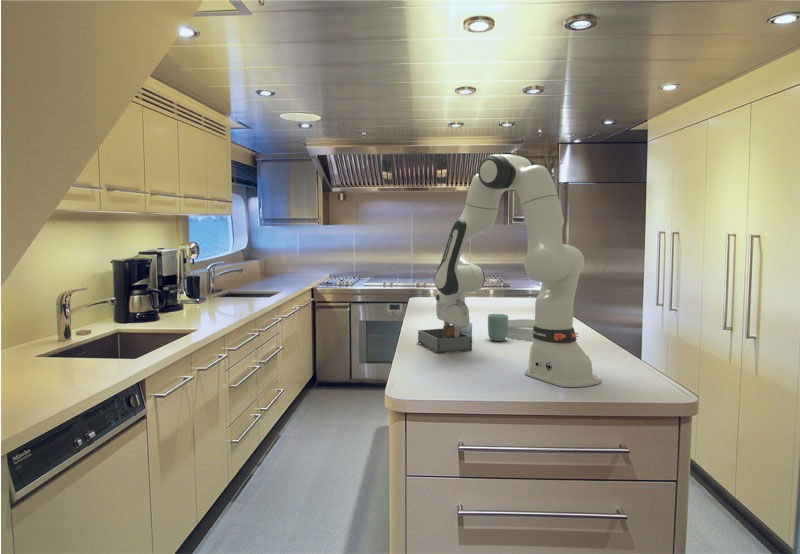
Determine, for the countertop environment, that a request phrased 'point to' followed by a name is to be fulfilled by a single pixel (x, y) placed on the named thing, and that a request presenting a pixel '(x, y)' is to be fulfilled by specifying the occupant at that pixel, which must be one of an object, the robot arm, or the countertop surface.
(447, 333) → the walnut cube
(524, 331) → the dish
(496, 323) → the cup
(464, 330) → the blue cylinder
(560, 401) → the countertop surface
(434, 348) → the tote
